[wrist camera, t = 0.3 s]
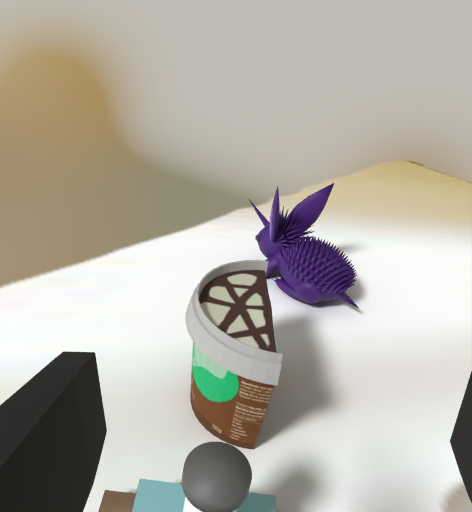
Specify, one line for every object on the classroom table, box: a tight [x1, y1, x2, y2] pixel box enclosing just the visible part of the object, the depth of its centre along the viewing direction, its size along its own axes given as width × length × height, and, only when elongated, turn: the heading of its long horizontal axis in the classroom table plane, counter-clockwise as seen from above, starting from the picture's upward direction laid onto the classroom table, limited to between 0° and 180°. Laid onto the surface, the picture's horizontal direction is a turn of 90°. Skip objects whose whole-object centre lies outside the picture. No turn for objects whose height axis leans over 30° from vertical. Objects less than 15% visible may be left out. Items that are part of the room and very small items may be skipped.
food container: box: [186, 260, 283, 449], centre depth 34 cm, size 12×6×10 cm, turn 1°
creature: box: [250, 183, 358, 308], centre depth 52 cm, size 9×18×12 cm, turn 44°
